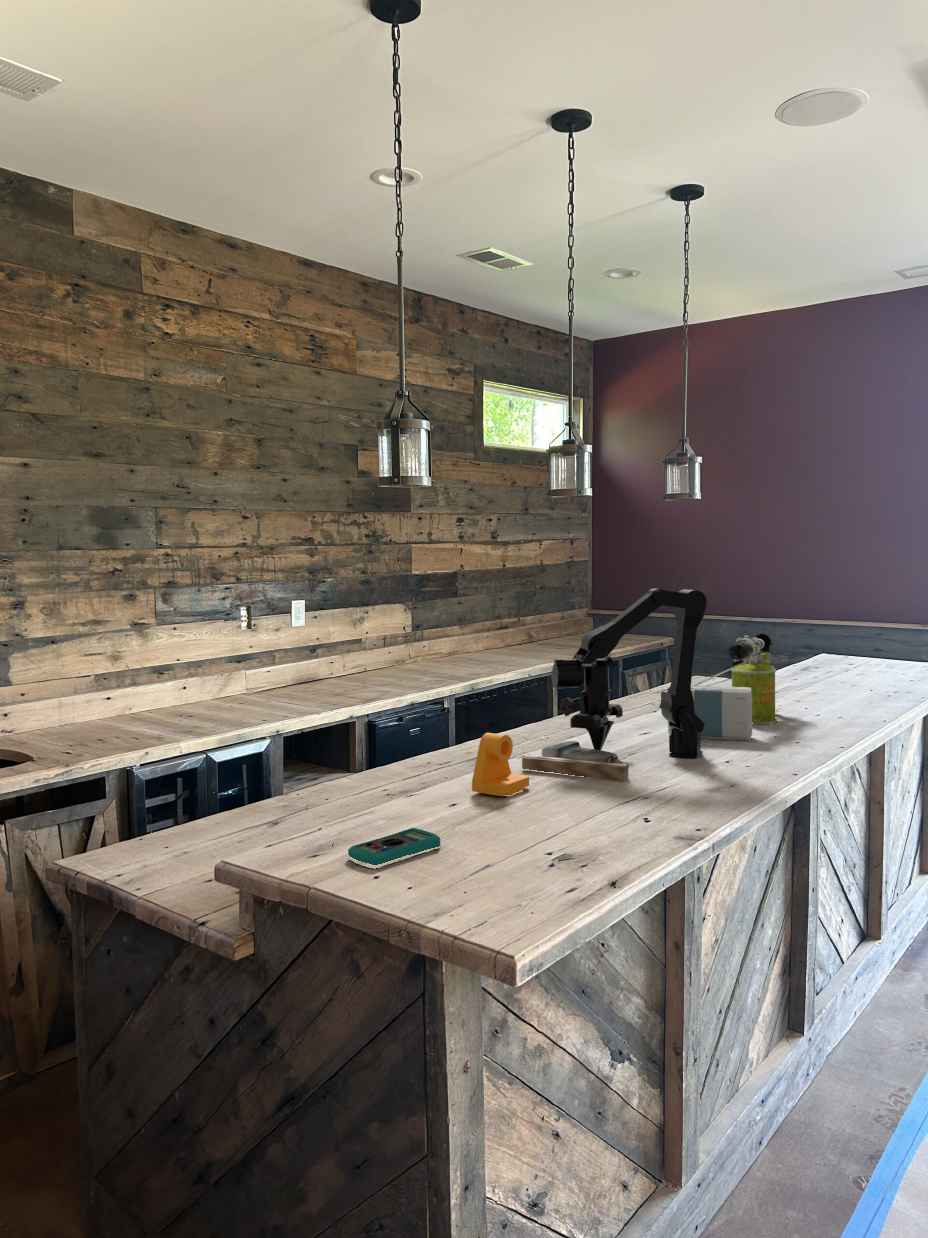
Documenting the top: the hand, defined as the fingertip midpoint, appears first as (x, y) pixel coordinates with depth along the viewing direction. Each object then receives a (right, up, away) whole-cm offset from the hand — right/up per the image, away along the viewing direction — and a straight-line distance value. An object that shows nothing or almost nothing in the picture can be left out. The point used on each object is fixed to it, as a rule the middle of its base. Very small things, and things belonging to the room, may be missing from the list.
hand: (597, 752), depth 214 cm
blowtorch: (+51, +2, +46) cm, 69 cm away
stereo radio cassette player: (+33, 0, +24) cm, 41 cm away
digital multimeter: (-43, -8, -63) cm, 77 cm away
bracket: (-24, -5, -25) cm, 35 cm away
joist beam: (-7, -3, -12) cm, 15 cm away
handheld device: (-3, -3, -4) cm, 6 cm away
